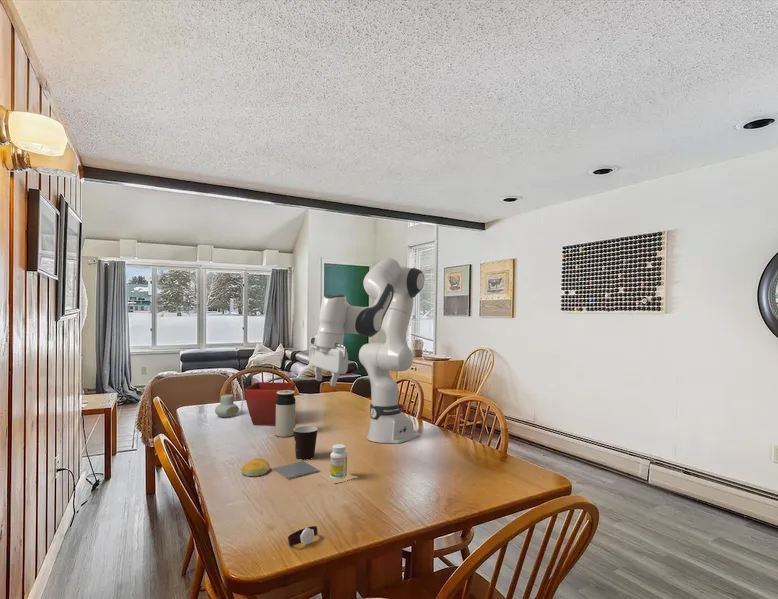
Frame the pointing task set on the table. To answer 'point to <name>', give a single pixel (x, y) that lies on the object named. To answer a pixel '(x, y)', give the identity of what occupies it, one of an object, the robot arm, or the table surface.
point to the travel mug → (285, 413)
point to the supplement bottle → (338, 462)
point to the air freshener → (227, 407)
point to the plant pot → (264, 401)
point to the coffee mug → (305, 441)
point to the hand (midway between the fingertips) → (325, 383)
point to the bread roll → (255, 467)
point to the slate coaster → (296, 469)
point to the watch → (303, 536)
